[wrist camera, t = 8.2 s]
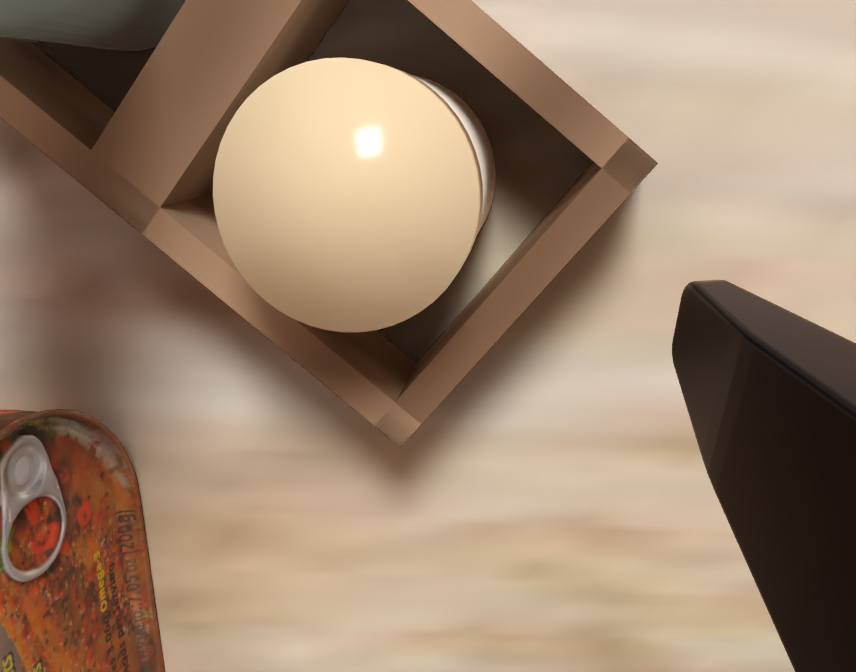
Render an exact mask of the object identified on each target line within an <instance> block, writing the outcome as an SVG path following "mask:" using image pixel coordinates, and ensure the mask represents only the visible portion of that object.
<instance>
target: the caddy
mask: <svg viewBox="0 0 856 672" xmlns="http://www.w3.org/2000/svg"><path fill="white" fill-rule="evenodd" d="M408 1H409V2H410V3H411V4H413V5H414V6H415V7H416V8H417V9H418V10H419V11H421V12H422V13H423V14H424V15H425V16H426V17H428V18H429V19H430V20H431V21H432V22H433V23H434V24H436V25H437V26H438V27H439V28H440V29H441V30H443V31H444V32H445V33H446V34H447V35H448V36H449V37H451V38H452V39H453V40H454V41H455V42H456V43H458V44H459V45H460V46H461V47H462V48H463V49H464V50H466V51H467V52H468V53H469V54H470V55H471V56H473V57H474V58H475V59H476V60H477V61H478V62H479V63H481V64H482V65H483V66H484V67H485V68H486V69H488V70H489V71H490V72H491V73H492V74H493V75H494V76H496V77H497V78H498V79H499V80H500V81H501V82H503V83H504V84H505V85H506V86H507V87H508V88H510V89H511V90H512V91H513V92H514V93H515V94H516V95H518V96H519V97H520V98H521V99H522V100H523V101H525V102H526V103H527V104H528V105H529V106H530V107H531V108H533V109H534V110H535V111H536V112H537V113H538V114H540V115H541V116H542V117H543V118H544V119H545V120H546V121H548V122H549V123H550V124H551V125H552V126H553V127H555V128H556V129H557V130H558V131H559V132H560V133H561V134H563V135H564V136H565V137H566V138H567V139H568V140H570V141H571V142H572V143H573V144H574V145H575V146H576V147H578V148H579V149H580V150H581V151H582V152H583V153H585V154H586V155H587V156H588V157H589V158H590V159H591V160H593V161H594V162H593V163H592V164H591V165H590V166H589V168H588V169H587V170H586V171H585V172H584V173H583V174H582V176H581V177H580V178H579V179H578V180H577V181H576V182H575V184H574V185H573V186H572V187H571V188H570V189H569V190H568V191H567V193H566V194H565V195H564V196H563V197H562V198H561V199H560V201H559V202H558V203H557V204H556V205H555V206H554V207H553V209H552V210H551V211H550V212H549V213H548V214H547V215H546V217H545V218H544V219H543V220H542V221H541V222H540V223H539V225H538V226H537V227H536V228H535V229H534V230H533V231H532V233H531V234H530V235H529V236H528V237H527V238H526V239H525V241H524V242H523V243H522V244H521V245H520V246H519V247H518V249H517V250H516V251H515V252H514V253H513V254H512V255H511V257H510V258H509V259H508V260H507V261H506V262H505V263H504V265H503V266H502V267H501V268H500V269H499V270H498V271H497V273H496V274H495V275H494V276H493V277H492V278H491V279H490V281H489V282H488V283H487V284H486V285H485V286H484V287H483V289H482V290H481V291H480V292H479V293H478V294H477V295H476V297H475V298H474V299H473V300H472V301H471V302H470V303H469V305H468V306H467V307H466V308H465V309H464V310H463V311H462V313H461V314H460V315H459V316H458V317H457V318H456V319H455V321H454V322H453V323H452V324H451V325H450V326H449V327H448V329H447V330H446V331H445V332H444V333H443V334H442V335H441V337H440V338H439V339H438V340H437V341H436V342H435V343H434V344H433V346H432V347H431V348H430V349H429V350H428V351H427V352H426V354H425V355H424V356H423V357H422V358H421V359H420V360H419V362H418V363H415V362H414V361H413V360H412V359H411V358H409V357H408V356H407V355H406V354H405V353H403V352H402V351H401V350H400V349H399V348H397V347H396V346H395V345H394V344H393V343H391V342H390V341H389V340H388V339H387V338H385V337H384V336H383V335H382V334H381V333H379V332H378V331H377V330H374V331H366V332H337V331H330V330H324V329H320V328H317V327H313V326H309V325H307V324H305V323H302V322H300V321H297V320H295V319H293V318H291V317H289V316H287V315H286V314H284V313H282V312H280V311H279V310H277V309H276V308H275V307H273V306H272V305H270V304H269V303H268V302H266V301H265V300H264V299H263V298H262V297H261V296H260V295H259V294H258V293H257V292H256V291H254V290H253V289H252V287H251V286H250V285H249V284H248V283H247V281H246V280H245V279H244V278H243V277H242V275H241V274H240V272H239V271H238V269H237V268H236V266H235V265H234V263H233V262H232V260H231V258H230V256H229V254H228V252H227V250H226V248H225V246H224V243H223V240H222V237H221V235H220V232H219V229H218V225H217V220H216V216H215V211H214V201H213V175H214V168H215V161H216V157H217V153H218V150H219V146H220V143H221V140H222V138H223V136H224V133H225V131H226V129H227V126H228V125H229V123H230V121H231V120H232V118H233V116H234V115H235V113H236V111H237V110H238V109H239V108H240V106H241V105H242V104H243V102H244V101H245V100H246V99H247V98H248V97H249V96H250V95H251V94H252V93H253V92H254V91H255V90H256V89H257V88H258V87H259V86H260V85H262V84H263V83H265V82H266V81H267V80H269V79H270V78H272V77H273V76H274V75H276V74H278V73H280V72H282V71H284V70H286V69H288V68H290V67H293V66H296V65H299V64H301V63H304V62H306V61H307V60H308V59H309V57H310V56H311V54H312V53H313V51H314V50H315V49H316V47H317V46H318V44H319V43H320V41H321V40H322V39H323V37H324V36H325V34H326V33H327V32H328V30H329V29H330V27H331V26H332V24H333V23H334V22H335V20H336V19H337V17H338V16H339V15H340V13H341V12H342V10H343V9H344V7H345V6H346V5H347V3H348V2H349V0H186V1H185V2H184V4H183V6H182V7H181V9H180V10H179V12H178V13H177V15H176V17H175V18H174V20H173V21H172V23H171V25H170V26H169V28H168V29H167V31H166V32H165V34H164V36H163V37H162V39H161V40H160V42H159V44H158V45H157V47H156V48H155V50H154V51H153V53H152V55H151V56H150V58H149V59H148V61H147V63H146V64H145V66H144V67H143V69H142V70H141V72H140V74H139V75H138V77H137V78H136V80H135V82H134V83H133V85H132V86H131V88H130V89H129V91H128V93H127V94H126V96H125V97H124V99H123V101H122V102H121V104H120V105H119V107H118V108H117V110H116V112H114V111H113V110H112V109H111V108H110V107H108V106H107V105H106V104H105V103H104V102H103V101H101V100H100V99H99V98H98V97H97V96H95V95H94V94H93V93H92V92H91V91H89V90H88V89H87V88H86V87H85V86H83V85H82V84H81V83H80V82H79V81H77V80H76V79H75V78H74V77H73V76H71V75H70V74H69V73H68V72H67V71H65V70H64V69H63V68H62V67H61V66H59V65H58V64H57V63H56V62H55V61H53V60H52V59H51V58H50V57H49V56H47V55H46V54H45V53H44V52H43V51H41V50H40V49H39V48H38V47H37V46H35V45H34V44H33V43H32V42H31V41H29V40H26V39H18V38H9V37H1V36H0V117H1V118H2V119H3V120H4V121H5V122H7V123H8V124H9V125H10V126H11V127H13V128H14V129H15V130H16V131H18V132H19V133H20V134H21V135H22V136H24V137H25V138H26V139H27V140H28V141H30V142H31V143H32V144H33V145H35V146H36V147H37V148H38V149H39V150H41V151H42V152H43V153H44V154H45V155H47V156H48V157H49V158H50V159H51V160H53V161H54V162H55V163H56V164H58V165H59V166H60V167H61V168H62V169H64V170H65V171H66V172H67V173H68V174H70V175H71V176H72V177H73V178H74V179H76V180H77V181H78V182H79V183H81V184H82V185H83V186H84V187H85V188H87V189H88V190H89V191H90V192H91V193H93V194H94V195H95V196H96V197H97V198H99V199H100V200H101V201H102V202H104V203H105V204H106V205H107V206H108V207H110V208H111V209H112V210H113V211H114V212H116V213H117V214H118V215H119V216H121V217H122V218H123V219H124V220H125V221H127V222H128V223H129V224H130V225H131V226H133V227H134V228H135V229H136V230H137V231H139V232H140V233H141V234H142V235H144V236H145V237H146V238H147V239H148V240H150V241H151V242H152V243H153V244H154V245H156V246H157V247H158V248H159V249H160V250H162V251H163V252H164V253H165V254H167V255H168V256H169V257H170V258H171V259H173V260H174V261H175V262H176V263H177V264H179V265H180V266H181V267H182V268H184V269H185V270H186V271H187V272H188V273H190V274H191V275H192V276H193V277H194V278H196V279H197V280H198V281H199V282H200V283H202V284H203V285H204V286H205V287H207V288H208V289H209V290H210V291H211V292H213V293H214V294H215V295H216V296H217V297H219V298H220V299H221V300H222V301H223V302H225V303H226V304H227V305H228V306H230V307H231V308H232V309H233V310H234V311H236V312H237V313H238V314H239V315H240V316H242V317H243V318H244V319H245V320H247V321H248V322H249V323H250V324H251V325H253V326H254V327H255V328H256V329H257V330H259V331H260V332H261V333H262V334H263V335H265V336H266V337H267V338H268V339H270V340H271V341H272V342H273V343H274V344H276V345H277V346H278V347H279V348H280V349H282V350H283V351H284V352H285V353H286V354H288V355H289V356H290V357H291V358H293V359H294V360H295V361H296V362H297V363H299V364H300V365H301V366H302V367H303V368H305V369H306V370H307V371H308V372H309V373H311V374H312V375H313V376H314V377H316V378H317V379H318V380H319V381H320V382H322V383H323V384H324V385H325V386H326V387H328V388H329V389H330V390H331V391H333V392H334V393H335V394H336V395H337V396H339V397H340V398H341V399H342V400H343V401H345V402H346V403H347V404H348V405H349V406H351V407H352V408H353V409H354V410H356V411H357V412H358V413H359V414H360V415H362V416H363V417H364V418H365V419H366V420H368V421H369V422H370V423H371V424H372V425H374V426H375V427H376V428H377V429H379V430H380V431H381V432H382V433H383V434H385V435H386V436H387V437H388V438H389V439H391V440H392V441H393V442H394V443H396V444H397V445H398V446H399V447H401V446H402V445H403V444H404V443H405V442H406V440H407V439H408V438H409V437H410V436H411V435H412V434H413V433H414V432H415V431H416V429H417V428H418V427H419V426H420V425H421V424H422V423H423V422H424V421H425V419H426V418H427V417H428V416H429V415H430V414H431V413H432V412H433V411H434V410H435V408H436V407H437V406H438V405H439V404H440V403H441V402H442V401H443V400H444V399H445V397H446V396H447V395H448V394H449V393H450V392H451V391H452V390H453V389H454V388H455V386H456V385H457V384H458V383H459V382H460V381H461V380H462V379H463V378H464V377H465V375H466V374H467V373H468V372H469V371H470V370H471V369H472V368H473V367H474V365H475V364H476V363H477V362H478V361H479V360H480V359H481V358H482V357H483V356H484V354H485V353H486V352H487V351H488V350H489V349H490V348H491V347H492V346H493V345H494V343H495V342H496V341H497V340H498V339H499V338H500V337H501V336H502V335H503V334H504V332H505V331H506V330H507V329H508V328H509V327H510V326H511V325H512V324H513V323H514V321H515V320H516V319H517V318H518V317H519V316H520V315H521V314H522V313H523V311H524V310H525V309H526V308H527V307H528V306H529V305H530V304H531V303H532V302H533V300H534V299H535V298H536V297H537V296H538V295H539V294H540V293H541V292H542V291H543V289H544V288H545V287H546V286H547V285H548V284H549V283H550V282H551V281H552V280H553V278H554V277H555V276H556V275H557V274H558V273H559V272H560V271H561V270H562V269H563V267H564V266H565V265H566V264H567V263H568V262H569V261H570V260H571V259H572V257H573V256H574V255H575V254H576V253H577V252H578V251H579V250H580V249H581V248H582V246H583V245H584V244H585V243H586V242H587V241H588V240H589V239H590V238H591V237H592V235H593V234H594V233H595V232H596V231H597V230H598V229H599V228H600V227H601V226H602V224H603V223H604V222H605V221H606V220H607V219H608V218H609V217H610V216H611V215H612V213H613V212H614V211H615V210H616V209H617V208H618V207H619V206H620V205H621V203H622V202H623V201H624V200H625V199H626V198H627V197H628V196H629V195H630V194H631V192H632V191H633V190H634V189H635V188H636V187H637V186H638V185H639V184H640V183H641V181H642V180H643V179H644V178H645V177H646V176H647V175H648V174H649V173H650V172H651V170H652V169H653V168H654V167H655V166H656V165H657V164H658V163H657V162H656V161H655V160H654V159H653V158H651V157H650V156H649V155H648V154H647V153H646V152H644V151H643V150H642V149H641V148H640V147H639V146H638V145H636V144H635V143H634V142H633V141H632V140H631V139H630V138H628V137H627V136H626V135H625V134H624V133H623V132H622V131H620V130H619V129H618V128H617V127H616V126H615V125H613V124H612V123H611V122H610V121H609V120H608V119H607V118H605V117H604V116H603V115H602V114H601V113H600V112H599V111H597V110H596V109H595V108H594V107H593V106H592V105H591V104H589V103H588V102H587V101H586V100H585V99H584V98H583V97H581V96H580V95H579V94H578V93H577V92H576V91H574V90H573V89H572V88H571V87H570V86H569V85H568V84H566V83H565V82H564V81H563V80H562V79H561V78H560V77H558V76H557V75H556V74H555V73H554V72H553V71H552V70H550V69H549V68H548V67H547V66H546V65H545V64H543V63H542V62H541V61H540V60H539V59H538V58H537V57H535V56H534V55H533V54H532V53H531V52H530V51H529V50H527V49H526V48H525V47H524V46H523V45H522V44H521V43H519V42H518V41H517V40H516V39H515V38H514V37H512V36H511V35H510V34H509V33H508V32H507V31H506V30H504V29H503V28H502V27H501V26H500V25H499V24H498V23H496V22H495V21H494V20H493V19H492V18H491V17H490V16H488V15H487V14H486V13H485V12H484V11H483V10H481V9H480V8H479V7H478V6H477V5H476V4H475V3H473V2H472V1H471V0H408Z"/></svg>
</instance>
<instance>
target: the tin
mask: <svg viewBox="0 0 856 672" xmlns="http://www.w3.org/2000/svg"><path fill="white" fill-rule="evenodd" d="M0 672H165V668H164V662H163V654H162V647H161V641H160V633H159V628H158V621H157V613H156V606H155V601H154V592H153V586H152V579H151V573H150V563H149V557H148V550H147V543H146V535H145V528H144V521H143V514H142V508H141V500H140V494H139V488H138V484H137V479H136V476H135V472H134V469H133V467H132V465H131V462H130V460H129V458H128V456H127V454H126V452H125V450H124V448H123V446H122V445H121V443H120V442H119V440H118V439H117V437H116V436H115V435H114V434H113V433H112V432H111V431H110V430H109V429H108V428H107V427H106V426H105V425H104V424H102V423H101V422H100V421H98V420H96V419H94V418H93V417H91V416H89V415H86V414H84V413H81V412H77V411H73V410H64V409H56V410H46V411H40V412H34V411H19V410H0Z"/></svg>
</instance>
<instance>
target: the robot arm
mask: <svg viewBox="0 0 856 672" xmlns="http://www.w3.org/2000/svg"><path fill="white" fill-rule="evenodd" d="M672 357H673V363H674V367H675V370H676V373H677V377H678V380H679V383H680V386H681V390H682V393H683V396H684V400H685V403H686V406H687V409H688V413H689V416H690V419H691V423H692V426H693V429H694V432H695V436H696V439H697V442H698V446H699V449H700V452H701V455H702V458H703V461H704V464H705V467H706V470H707V473H708V476H709V478H710V481H711V483H712V485H713V488H714V490H715V493H716V495H717V497H718V499H719V502H720V504H721V506H722V508H723V511H724V513H725V515H726V517H727V520H728V522H729V524H730V526H731V529H732V531H733V533H734V535H735V538H736V540H737V542H738V544H739V547H740V549H741V551H742V553H743V556H744V558H745V560H746V562H747V565H748V567H749V569H750V571H751V574H752V576H753V578H754V580H755V583H756V585H757V587H758V589H759V592H760V594H761V596H762V598H763V601H764V603H765V605H766V607H767V609H768V612H769V614H770V616H771V618H772V621H773V623H774V625H775V627H776V630H777V632H778V634H779V636H780V639H781V641H782V643H783V645H784V648H785V650H786V652H787V654H788V657H789V659H790V661H791V663H792V666H793V668H794V670H795V672H856V343H854V342H852V341H850V340H848V339H846V338H843V337H841V336H839V335H837V334H835V333H833V332H831V331H829V330H827V329H825V328H823V327H821V326H819V325H817V324H815V323H812V322H810V321H808V320H806V319H804V318H802V317H800V316H798V315H796V314H794V313H792V312H790V311H788V310H786V309H784V308H781V307H779V306H777V305H775V304H773V303H771V302H769V301H767V300H765V299H763V298H761V297H759V296H757V295H755V294H753V293H750V292H748V291H746V290H744V289H742V288H740V287H738V286H736V285H734V284H732V283H730V282H728V281H725V280H710V281H694V282H690V283H689V284H688V285H687V286H686V287H685V289H684V291H683V293H682V297H681V302H680V307H679V312H678V317H677V322H676V327H675V332H674V337H673V343H672Z"/></svg>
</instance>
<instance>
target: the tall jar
mask: <svg viewBox="0 0 856 672" xmlns="http://www.w3.org/2000/svg"><path fill="white" fill-rule="evenodd" d="M185 1H186V0H0V36H1V37H9V38H18V39H26V40H35V41H43V42H51V43H60V44H68V45H77V46H85V47H94V48H102V49H110V50H119V51H140V50H146V49H150V48H153V47H156V46H157V45H158V44H159V42H160V40H161V39H162V37H163V36H164V34H165V32H166V31H167V29H168V28H169V26H170V25H171V23H172V21H173V20H174V18H175V17H176V15H177V13H178V12H179V10H180V9H181V7H182V6H183V4H184V2H185Z"/></svg>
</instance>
